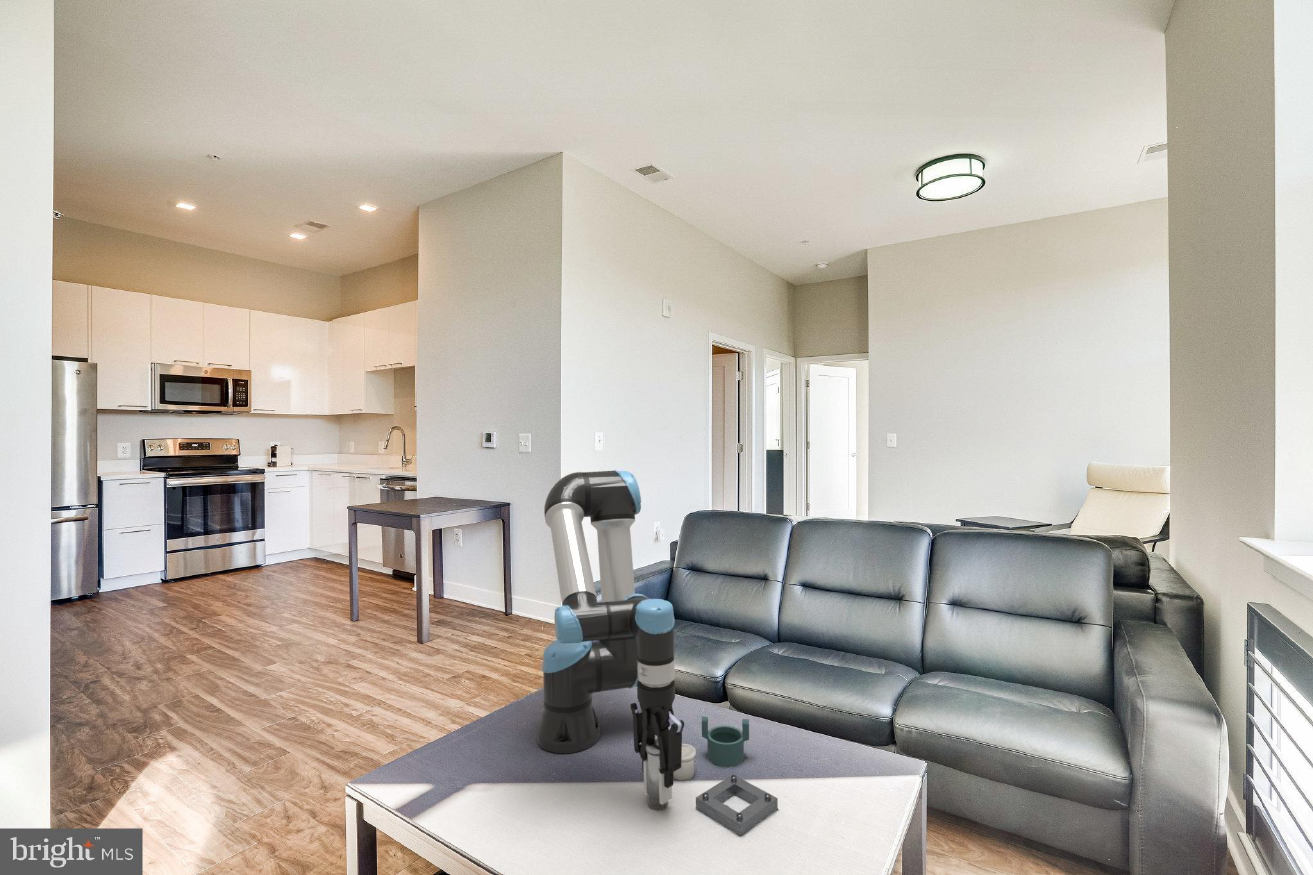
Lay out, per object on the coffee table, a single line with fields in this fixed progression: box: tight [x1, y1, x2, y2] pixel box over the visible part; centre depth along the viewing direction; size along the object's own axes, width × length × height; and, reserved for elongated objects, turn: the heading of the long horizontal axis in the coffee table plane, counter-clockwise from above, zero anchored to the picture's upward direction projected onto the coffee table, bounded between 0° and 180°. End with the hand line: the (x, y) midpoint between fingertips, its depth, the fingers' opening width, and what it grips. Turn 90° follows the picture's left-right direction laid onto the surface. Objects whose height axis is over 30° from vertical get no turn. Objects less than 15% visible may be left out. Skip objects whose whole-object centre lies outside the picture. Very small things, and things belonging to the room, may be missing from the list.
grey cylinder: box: [646, 738, 669, 811], centre depth 122 cm, size 5×5×12 cm
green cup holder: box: [701, 716, 750, 768], centre depth 139 cm, size 9×9×9 cm
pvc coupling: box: [673, 743, 697, 781], centre depth 133 cm, size 6×6×5 cm
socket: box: [695, 774, 779, 837], centre depth 120 cm, size 11×11×3 cm
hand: (657, 795), depth 122 cm, fingers closed on grey cylinder, 4 cm apart
